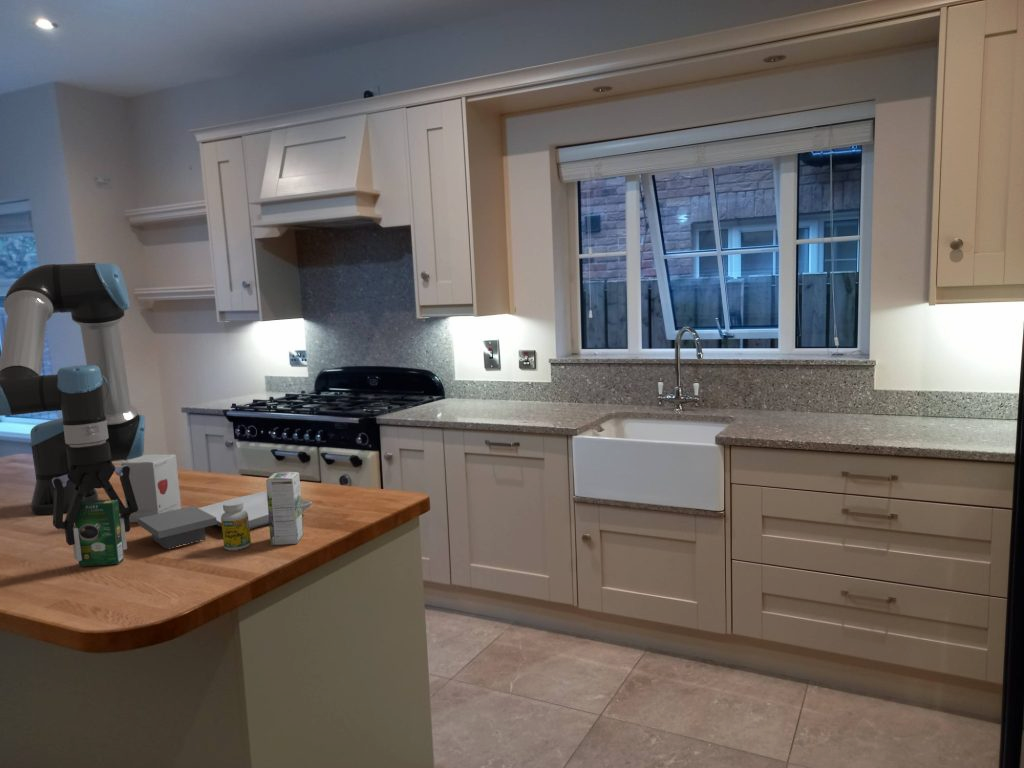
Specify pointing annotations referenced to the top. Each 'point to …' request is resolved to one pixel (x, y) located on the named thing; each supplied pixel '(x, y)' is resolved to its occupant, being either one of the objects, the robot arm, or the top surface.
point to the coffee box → (99, 533)
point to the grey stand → (178, 526)
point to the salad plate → (249, 509)
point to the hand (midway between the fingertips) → (101, 553)
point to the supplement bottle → (235, 526)
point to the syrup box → (284, 508)
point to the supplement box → (154, 484)
